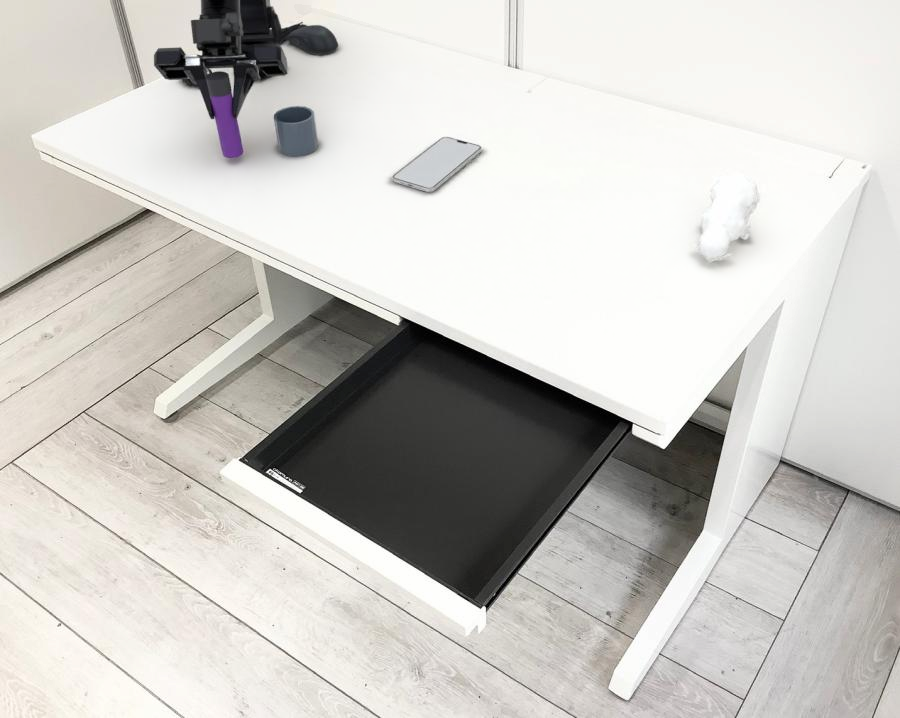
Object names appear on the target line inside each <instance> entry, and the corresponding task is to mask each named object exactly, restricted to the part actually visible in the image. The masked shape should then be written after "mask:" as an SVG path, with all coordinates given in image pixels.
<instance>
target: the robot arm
mask: <svg viewBox="0 0 900 718" xmlns="http://www.w3.org/2000/svg"><path fill="white" fill-rule="evenodd" d="M190 28H191V34H192V35H191V36H192V44H194V45H196V49H197V51H198V52H201V54H186V52H185V51H184V50H183V48H182V47H181V46H180V47H179V46H178V47H158V48H157V50H156V51H155V52H154V54H153V67H155V69H156V70H157V71H158V72H159V73H160V75H161V76H162V77H163V78H164V79H165V80H167V81H177V80H178V81H179V80H180V81H182V80H183V79H187V78H189V79H190V80H191V82H192V83H194V84H197V85H198V87H197V88H198V89H199V91H200V94H201V97H202V99H203V103H204V105H205V108H206V111H207V113H208V114H207V115H208V117H209V119H210V120H215V117H214V112H213V107H212V103H211V98H210V94H209V91H208V86H207V81H206V76H207V75H208V74H207V72H208V69H210V70H212V69H232V70H233V71H232V72H233V89H232V90H233V91H232V96H233V104H232V108H233V117H234V118H237V119H238V117H239V116H240V113H241V110H242V108H243V105H244V103H245V100H246V98H247V96H248V94H249V92H250V91H251V89H252V87H253V86H254V83H257V82H261V81H263V80H265V79H267V78H269V77H279V76H281V77H282V76H286V75H288V73H289V72H288V71H289V69H288V58H287V57H286V54H285V52H284V50H283V47H282V46H281V45H280V44H276V43H275V42H277V41H278V39H280V38H282V37H283V35H282V28H283V27H282V24H281V21H280V18H279V15H278V14H277V13H276V10H275V7H274V5H271V0H200V14H199V17H198V19H191V20H190Z"/></svg>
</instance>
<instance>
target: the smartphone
mask: <svg viewBox="0 0 900 718" xmlns="http://www.w3.org/2000/svg"><path fill="white" fill-rule="evenodd" d="M481 152H482V146H481V145H479V144H476V143H473V142H469V141H465V140H461V139H458V138H453V137H450V136H443V137H441V138H439V139H438V140H437V141H436V142H434V143H433V144H432V145H430V146H429V147H428V148H427V149H425V150H424V151H422V152H421V153H420V154H419V155H418V156H416V157H415V158H413V159H412V160H411V161H410V162H408V163H407V164H406V165H405V166H403V167H402V168H400V169H399V170H398V171H397V172H395V173H394V174H393V175H392V177H391V178H392V181H393V182H394V183H396V184H400V185H403V186H405V187H410V188H413V189H417V190H420V191H422V192H426V193H432V192H434V191H436V190H437V189H438V188H439V187H441V186H442V185H443V184H444V183H445V182H446V181H448V180H449V179H450V178H451V177H453V176H454V175H455V174H457V172H458V171H460V170H461V169H462V168H463V167H464V166H466V165H467V164H468V163H469V162H470V161H472V160H473V159H474V158H475V157H477V156H478V155H479V154H480V153H481Z"/></svg>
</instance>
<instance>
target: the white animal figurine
mask: <svg viewBox="0 0 900 718" xmlns="http://www.w3.org/2000/svg"><path fill="white" fill-rule="evenodd" d="M709 192H710V195H709V196H710V200H711V202H710V204H709V206H708V208H707V210H706V211H705V212H704V213H703V214H702V216H701V219H700V227H701V232H702V234H701V235H700V237H699V240H698V245H697V244H696V243H694V246H695V248H696V249H697V251H698V254H699V255H701V256H702V257H703V258H704V259H706V261H707V263H709V264H712V263H713V262H715V261H724V260H727V257H729V256H731V255H733V253H734V252H733V253H732V252H731V253H728V250H729V248H730V244H731V243H732V242H733V241H736V240H739V239H741V240H743V241H745V240H748V238H749V232H750V230H751V228H752V224H751V223H748V221H749V220H750V217H751V215H752V214H753V213H754V212H755V211H756V209H757V207H758V204H759V203H760V201H761V195H760V193H759V190H758V186H757V183H756V182H755V180H754V179H753V178H751V177H749V176H747V175H745V174H744V173H741V172H732V173H725V174H723V175H721V176H720V177H719V178H718V179H717V181H716V182H715V184H714V185H713V186H712V187H711V188H710V190H709ZM726 253H727V254H726Z"/></svg>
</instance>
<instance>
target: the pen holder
mask: <svg viewBox="0 0 900 718" xmlns="http://www.w3.org/2000/svg"><path fill="white" fill-rule="evenodd" d="M273 124H274V128H275V135H276V142H277V147H278V151H279V152H280V153H281V154H282V155H283V156H288V157H295V158H296V157H304V156H308V155H310V154H312V153H314V152H316V151H317V149H318V148H319V140H318V132H317V125H316V118H315V112H314V110H313V109H312V108H310V107H307V106H301V105H293V106H287V107H283V108H281V109H278V110H277V111H276V112H275V113H274V114H273Z"/></svg>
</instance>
